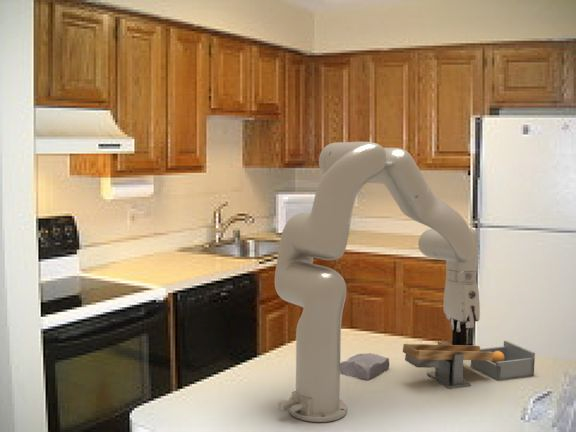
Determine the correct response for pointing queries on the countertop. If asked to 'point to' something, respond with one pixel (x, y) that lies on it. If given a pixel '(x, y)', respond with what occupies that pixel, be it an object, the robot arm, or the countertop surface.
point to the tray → (507, 363)
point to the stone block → (364, 366)
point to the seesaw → (441, 353)
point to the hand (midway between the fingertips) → (459, 345)
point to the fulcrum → (450, 372)
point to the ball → (497, 356)
